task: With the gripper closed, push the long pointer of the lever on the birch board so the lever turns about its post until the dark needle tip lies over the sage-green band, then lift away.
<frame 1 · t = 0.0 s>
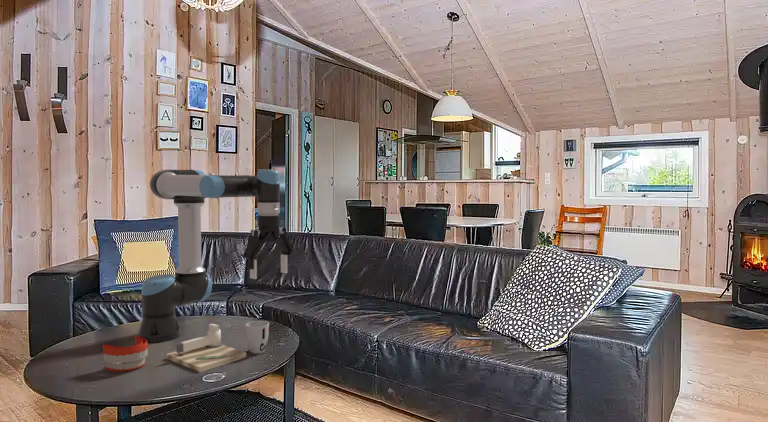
hand: (269, 275, 182), 28 cm above the table, fingers open, 13 cm apart
lever: (199, 338, 183), point 6 cm above the table, hinge at 0.0°
toy: (130, 367, 172), on the table
cup: (257, 351, 188), on the table
board: (206, 357, 180), on the table
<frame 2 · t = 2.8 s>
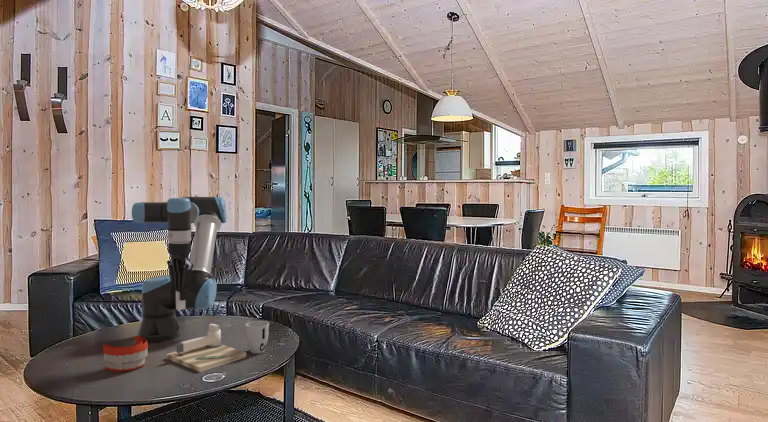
hand: (180, 308, 184), 16 cm above the table, fingers closed
nothing on the table moved.
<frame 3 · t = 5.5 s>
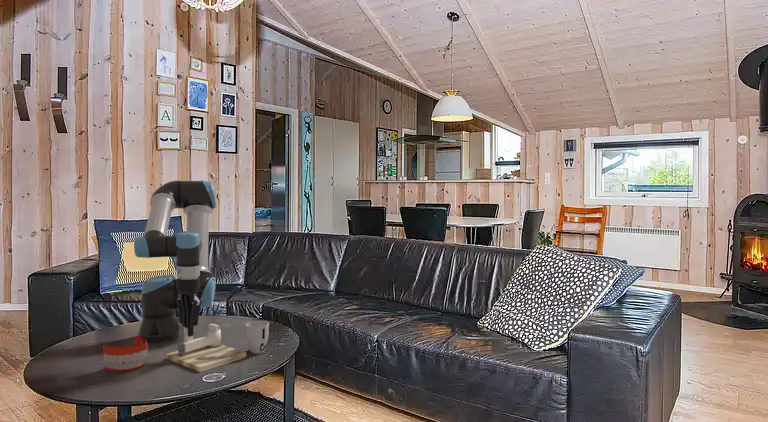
hand: (188, 344, 182), 4 cm above the table, fingers closed
lever: (200, 339, 183), point 6 cm above the table, hinge at 4.3°, touching gripper
everything else where it was.
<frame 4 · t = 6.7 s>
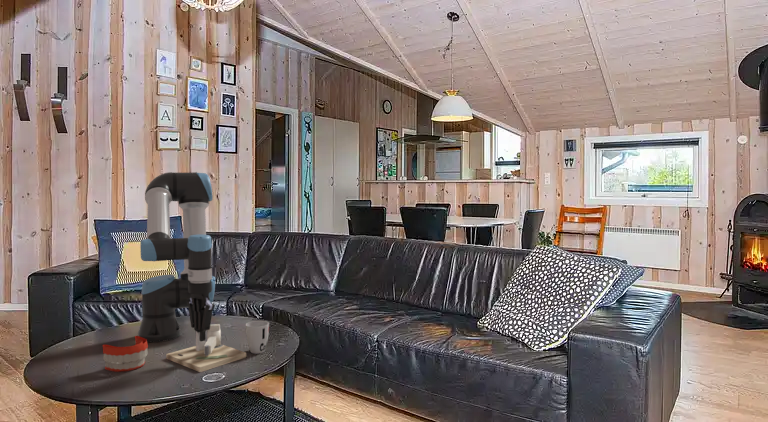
hand: (200, 349, 178), 4 cm above the table, fingers closed
lever: (210, 339, 182), point 6 cm above the table, hinge at 45.6°, touching gripper
everything else where it was.
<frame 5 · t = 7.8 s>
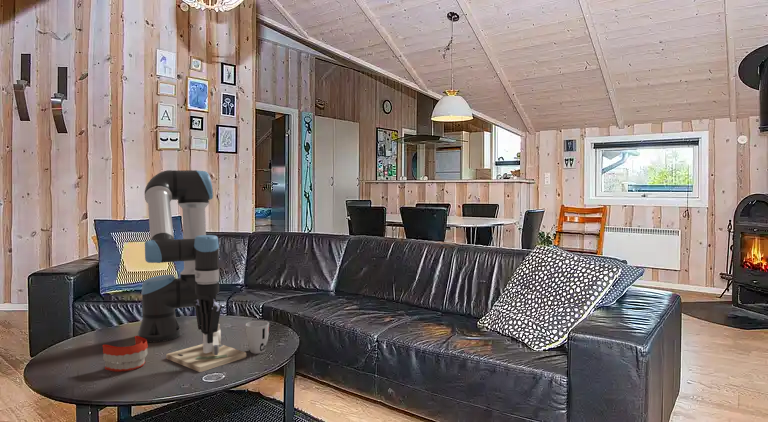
hand: (208, 351, 175), 4 cm above the table, fingers closed
lever: (214, 339, 183), point 6 cm above the table, hinge at 58.0°, touching gripper
everything else where it was.
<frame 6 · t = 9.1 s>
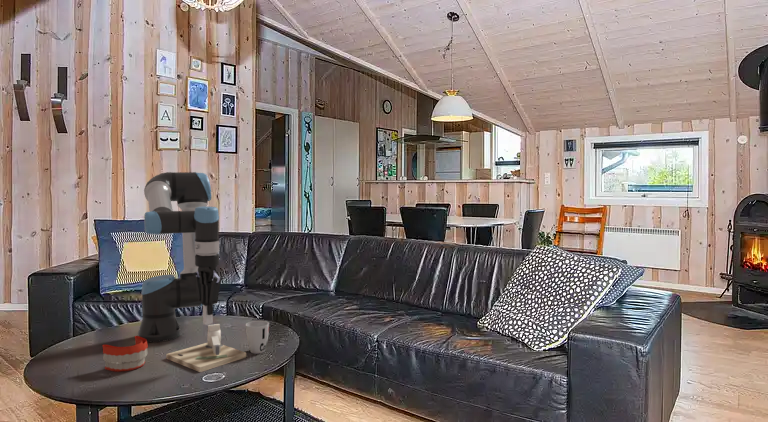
hand: (208, 323, 175), 13 cm above the table, fingers closed
lever: (215, 339, 183), point 6 cm above the table, hinge at 59.9°
everything else where it was.
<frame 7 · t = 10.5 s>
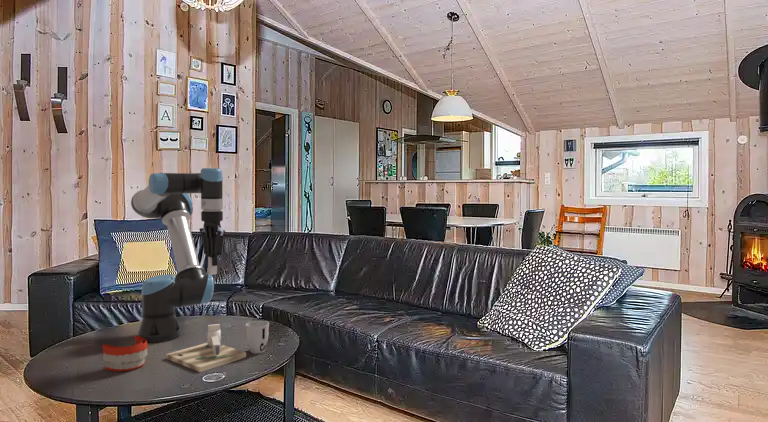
hand: (212, 274, 193), 26 cm above the table, fingers closed
nothing on the table moved.
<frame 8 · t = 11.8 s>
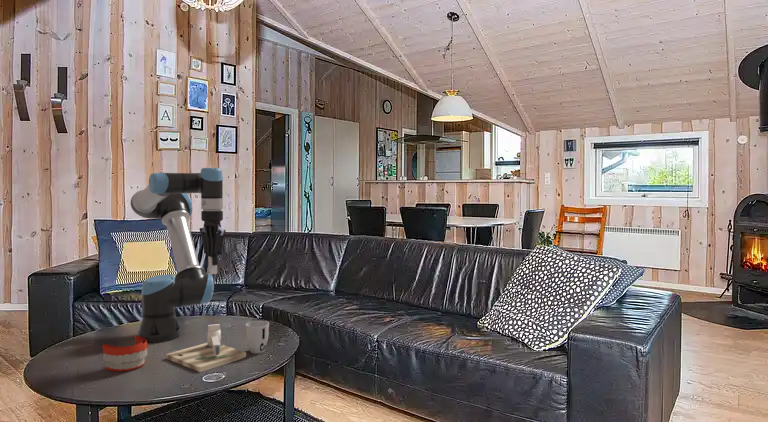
hand: (213, 273, 194), 26 cm above the table, fingers closed
nothing on the table moved.
at the end: lever at +60° (first picture: +0°); lever touching nothing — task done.
